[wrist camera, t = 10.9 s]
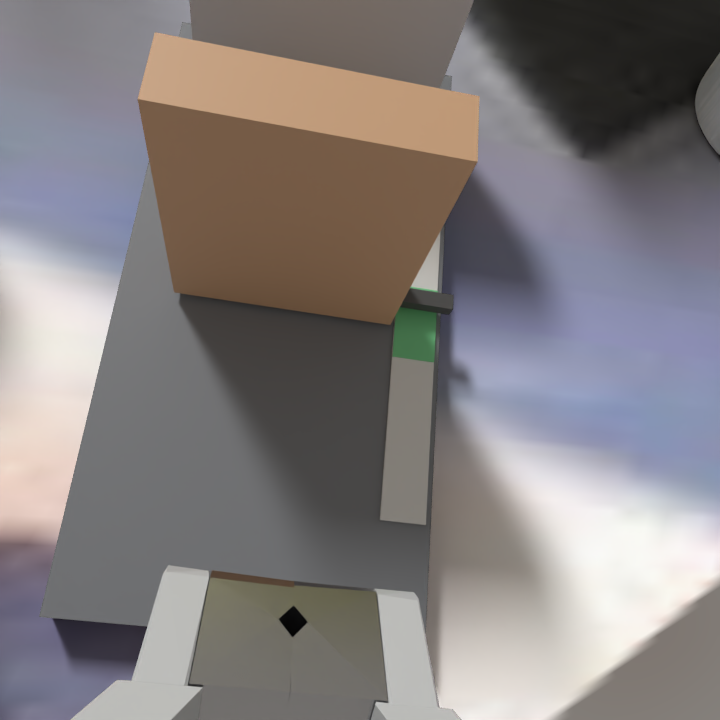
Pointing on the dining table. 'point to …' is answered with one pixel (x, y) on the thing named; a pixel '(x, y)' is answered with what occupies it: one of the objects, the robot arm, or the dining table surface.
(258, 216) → the paddle
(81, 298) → the dining table surface
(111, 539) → the gauge board
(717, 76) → the ramekin
